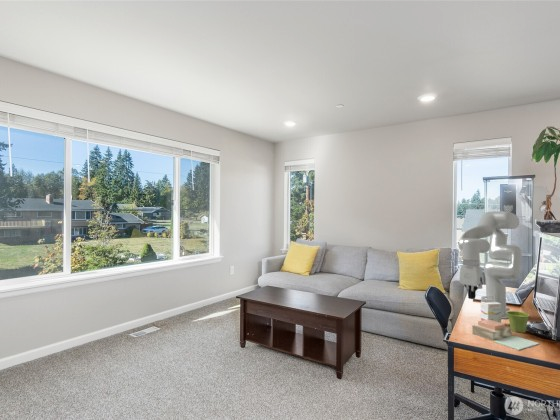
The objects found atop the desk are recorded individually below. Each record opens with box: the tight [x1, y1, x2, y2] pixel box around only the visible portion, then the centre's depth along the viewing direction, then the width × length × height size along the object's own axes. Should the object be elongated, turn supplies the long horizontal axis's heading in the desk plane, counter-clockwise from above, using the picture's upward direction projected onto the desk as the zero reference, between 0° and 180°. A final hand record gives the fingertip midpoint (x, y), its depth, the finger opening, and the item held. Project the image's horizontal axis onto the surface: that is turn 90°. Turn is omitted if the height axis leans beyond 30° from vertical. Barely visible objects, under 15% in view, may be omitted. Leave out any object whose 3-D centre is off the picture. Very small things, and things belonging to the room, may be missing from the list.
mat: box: [492, 335, 540, 351], centre depth 142 cm, size 16×10×1 cm, turn 114°
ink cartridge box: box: [480, 295, 502, 323], centre depth 167 cm, size 9×5×15 cm, turn 102°
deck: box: [471, 324, 513, 342], centre depth 152 cm, size 14×10×4 cm
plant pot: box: [506, 310, 530, 333], centre depth 157 cm, size 9×9×9 cm
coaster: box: [477, 319, 506, 331], centre depth 152 cm, size 8×8×2 cm
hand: (471, 298), depth 160 cm, fingers closed
